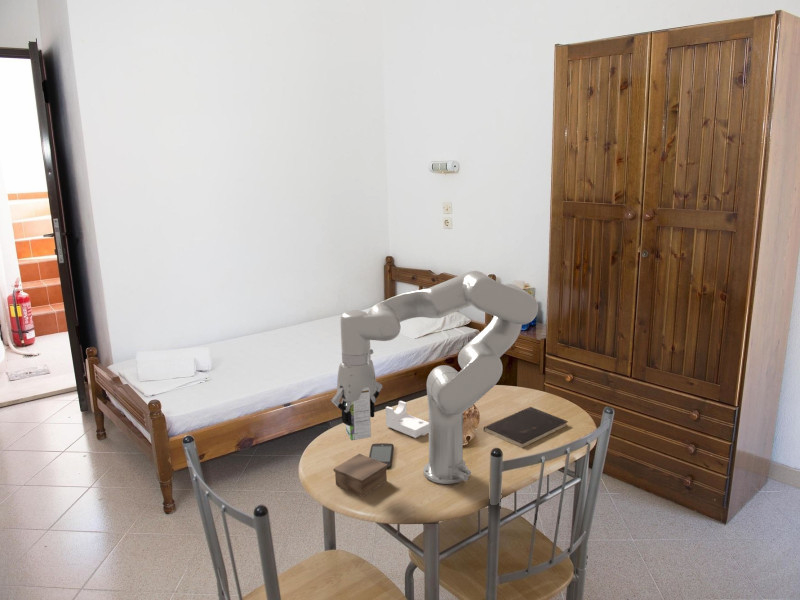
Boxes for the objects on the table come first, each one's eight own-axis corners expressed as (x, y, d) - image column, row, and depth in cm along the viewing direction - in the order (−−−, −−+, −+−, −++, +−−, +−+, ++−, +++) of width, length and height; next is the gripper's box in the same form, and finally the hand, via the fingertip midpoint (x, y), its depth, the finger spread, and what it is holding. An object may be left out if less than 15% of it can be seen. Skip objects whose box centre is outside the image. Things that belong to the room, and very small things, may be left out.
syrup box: (345, 432, 174) (342, 383, 170) (365, 428, 176) (363, 379, 172) (351, 441, 169) (348, 390, 165) (372, 437, 171) (370, 387, 167)
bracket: (386, 428, 208) (385, 407, 206) (401, 421, 213) (400, 400, 211) (415, 440, 199) (415, 418, 198) (430, 433, 204) (429, 411, 202)
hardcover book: (567, 427, 207) (567, 421, 206) (522, 450, 193) (522, 443, 192) (528, 412, 219) (529, 406, 218) (483, 432, 205) (483, 425, 204)
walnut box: (388, 481, 176) (387, 464, 175) (362, 498, 168) (362, 480, 167) (360, 469, 183) (359, 453, 181) (334, 485, 175) (333, 468, 173)
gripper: (373, 347, 174) (375, 406, 179) (320, 361, 163) (323, 424, 168) (390, 353, 169) (392, 415, 173) (337, 369, 158) (340, 434, 162)
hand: (358, 419), depth 171 cm, fingers closed on syrup box, 7 cm apart
